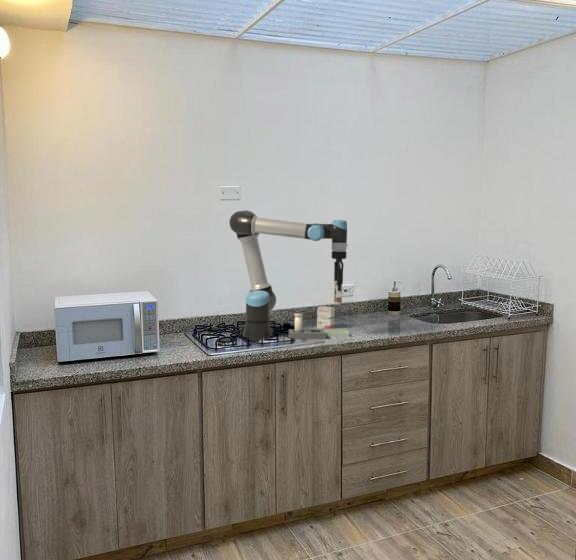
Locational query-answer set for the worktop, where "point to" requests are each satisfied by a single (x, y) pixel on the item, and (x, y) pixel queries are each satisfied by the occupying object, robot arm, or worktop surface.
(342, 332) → the parts tray
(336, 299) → the fuse
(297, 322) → the cylinder
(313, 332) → the fuse block
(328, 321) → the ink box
